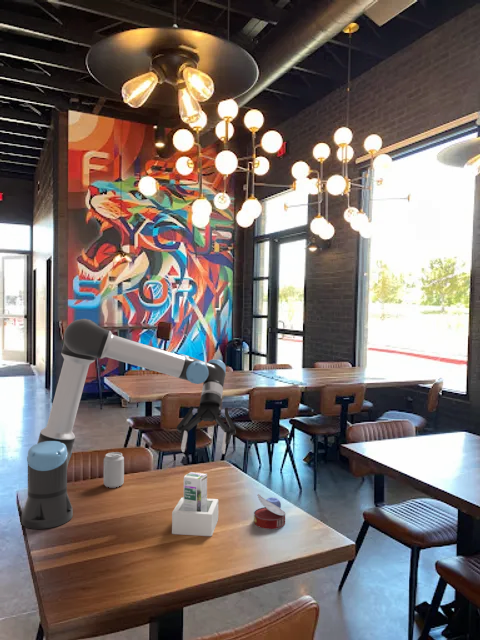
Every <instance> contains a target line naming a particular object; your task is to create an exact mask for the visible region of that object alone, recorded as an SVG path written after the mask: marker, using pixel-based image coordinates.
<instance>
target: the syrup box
mask: <svg viewBox="0 0 480 640" xmlns="http://www.w3.org/2000/svg"><path fill="white" fill-rule="evenodd" d="M183 497H184V511H196V512H207V499H208V473H201V472H193V471H190V472H189V473H187V474H185V475H184V476H183Z"/></svg>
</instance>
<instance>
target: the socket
mask: <svg viewBox="0 0 480 640" xmlns="http://www.w3.org/2000/svg"><path fill="white" fill-rule="evenodd" d="M218 520H219V499H218V498H207V512H196V511H184V496H183V497H182V496H181V498H180V499H179V501H178V502H177V504H176V506H175V507H174V509H173V510H172V512H171V534H172V535H184V536H185V535H186V536H202V537H213V534H214V531H215V529H216V526H217V524H218V522H219V521H218Z"/></svg>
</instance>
